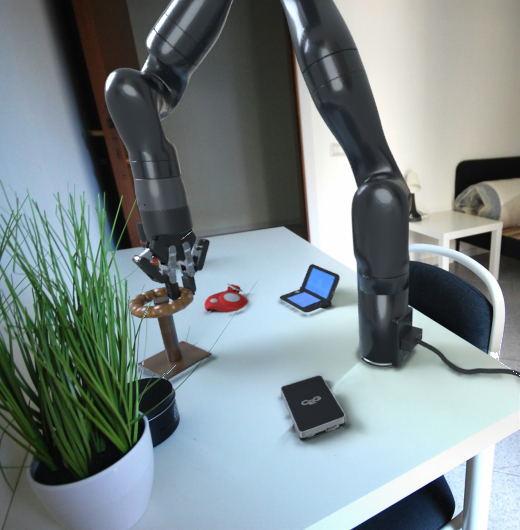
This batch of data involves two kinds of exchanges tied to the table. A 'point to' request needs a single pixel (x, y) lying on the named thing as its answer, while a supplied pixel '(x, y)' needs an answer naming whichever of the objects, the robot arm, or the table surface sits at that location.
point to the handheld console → (314, 290)
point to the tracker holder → (226, 300)
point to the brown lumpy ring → (159, 310)
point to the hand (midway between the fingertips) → (183, 297)
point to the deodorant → (143, 242)
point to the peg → (172, 349)
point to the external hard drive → (312, 407)
